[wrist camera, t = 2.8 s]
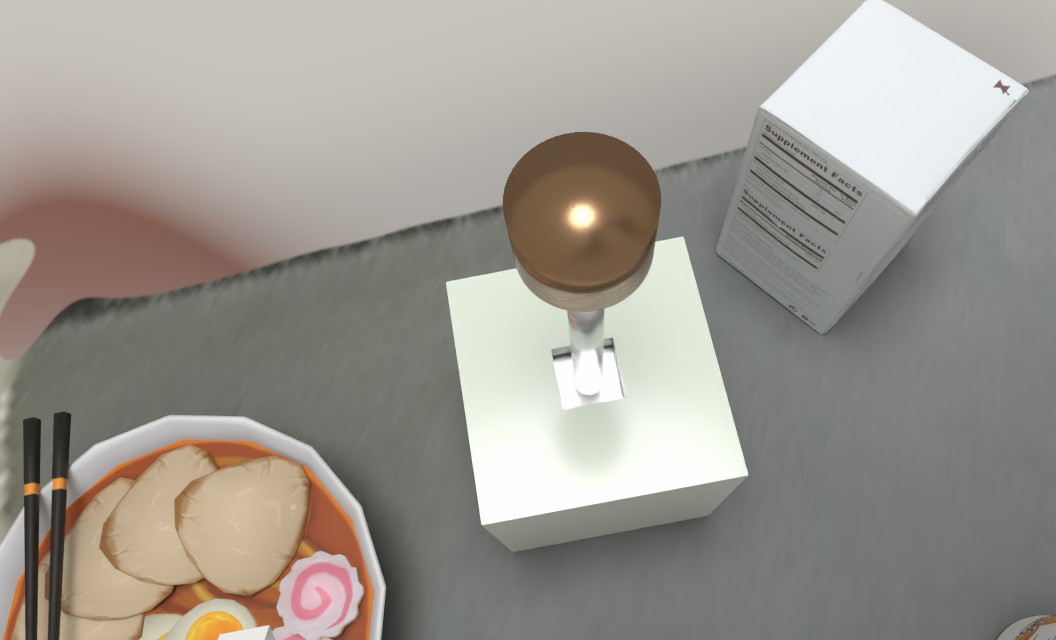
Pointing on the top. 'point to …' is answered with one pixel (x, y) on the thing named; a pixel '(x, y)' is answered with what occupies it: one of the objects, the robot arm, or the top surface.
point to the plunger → (583, 245)
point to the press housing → (593, 410)
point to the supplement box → (857, 158)
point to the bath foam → (1031, 629)
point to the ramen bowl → (187, 539)
